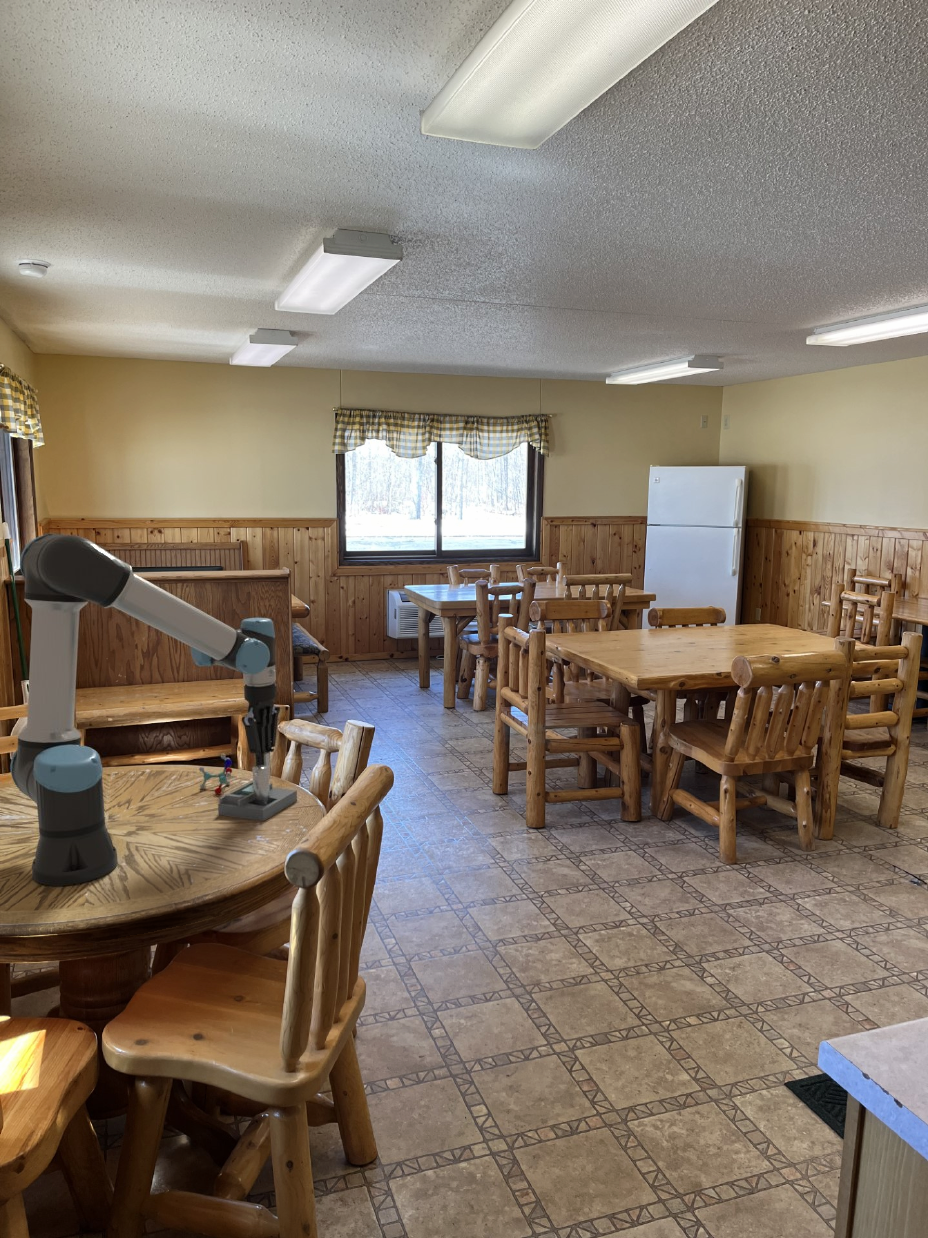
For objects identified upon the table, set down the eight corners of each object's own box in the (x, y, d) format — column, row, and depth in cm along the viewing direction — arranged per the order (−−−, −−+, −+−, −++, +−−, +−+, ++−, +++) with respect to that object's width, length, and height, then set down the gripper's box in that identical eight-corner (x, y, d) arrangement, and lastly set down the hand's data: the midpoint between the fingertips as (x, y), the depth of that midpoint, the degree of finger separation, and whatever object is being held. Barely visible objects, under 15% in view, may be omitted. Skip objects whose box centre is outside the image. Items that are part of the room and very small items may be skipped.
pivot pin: (264, 813, 195) (262, 770, 194) (251, 811, 197) (249, 769, 195) (273, 807, 199) (271, 765, 197) (260, 806, 200) (258, 764, 199)
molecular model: (180, 779, 210) (201, 742, 213) (201, 787, 219) (221, 751, 221) (216, 799, 206) (237, 761, 208) (235, 806, 214) (255, 769, 217)
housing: (263, 821, 192) (262, 803, 191) (218, 814, 196) (217, 797, 196) (297, 800, 205) (296, 784, 204) (254, 795, 209) (253, 778, 209)
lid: (254, 794, 201) (254, 779, 201) (241, 793, 203) (241, 778, 202) (269, 786, 207) (268, 772, 206) (256, 785, 208) (255, 770, 208)
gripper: (257, 689, 197) (261, 789, 201) (288, 678, 210) (291, 772, 213) (230, 687, 200) (234, 785, 203) (262, 676, 212) (265, 769, 215)
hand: (263, 779), depth 208 cm, fingers closed
